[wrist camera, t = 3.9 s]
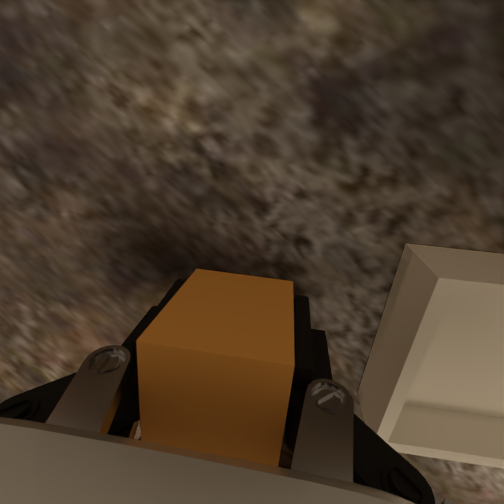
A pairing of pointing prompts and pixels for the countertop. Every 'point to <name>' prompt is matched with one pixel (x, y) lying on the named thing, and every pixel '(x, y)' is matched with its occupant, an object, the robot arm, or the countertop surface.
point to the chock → (219, 367)
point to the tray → (440, 358)
